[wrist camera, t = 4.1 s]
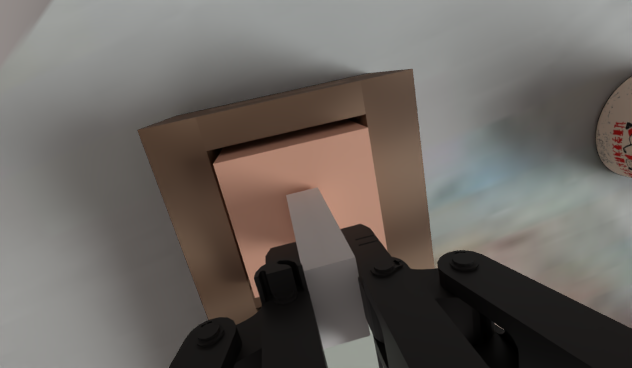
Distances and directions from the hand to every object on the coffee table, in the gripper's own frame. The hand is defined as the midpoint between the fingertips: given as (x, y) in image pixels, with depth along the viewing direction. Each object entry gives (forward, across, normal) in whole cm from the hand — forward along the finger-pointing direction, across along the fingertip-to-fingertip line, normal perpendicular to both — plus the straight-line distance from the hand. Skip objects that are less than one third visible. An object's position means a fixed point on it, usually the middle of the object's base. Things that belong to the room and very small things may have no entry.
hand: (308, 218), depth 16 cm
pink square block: (+5, 0, 0) cm, 5 cm away
